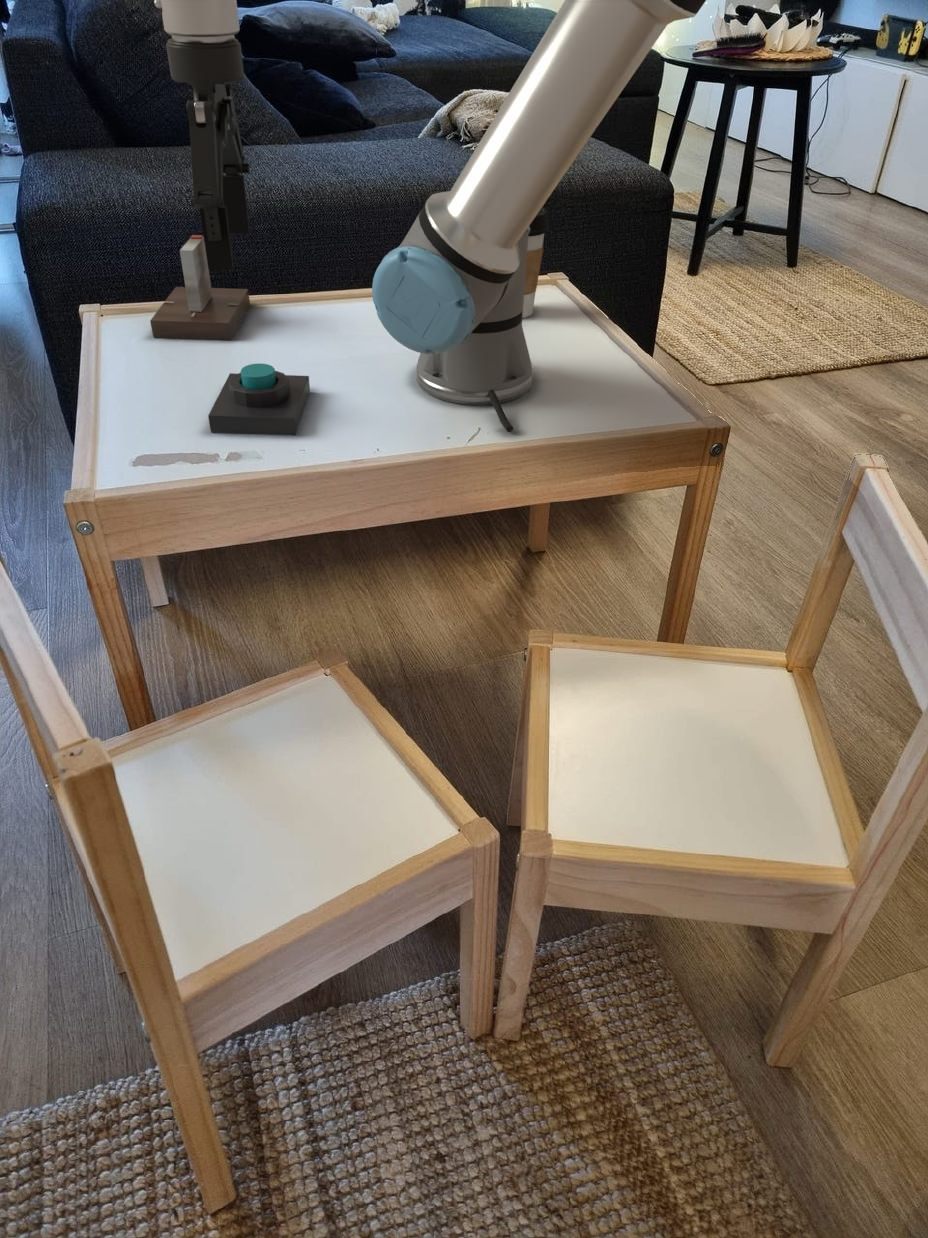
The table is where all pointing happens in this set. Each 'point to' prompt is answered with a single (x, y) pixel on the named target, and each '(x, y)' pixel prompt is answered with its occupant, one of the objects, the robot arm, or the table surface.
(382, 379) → the table surface
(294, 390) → the button block
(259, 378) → the button
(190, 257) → the grey flat upright block
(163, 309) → the panel
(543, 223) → the coffee cup
